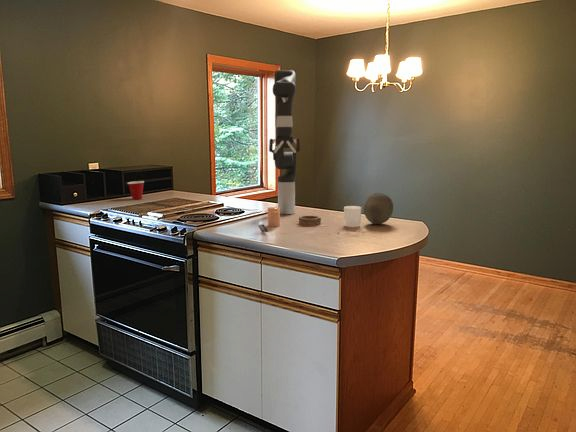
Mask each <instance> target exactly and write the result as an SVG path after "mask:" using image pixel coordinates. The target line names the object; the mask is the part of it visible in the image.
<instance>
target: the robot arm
mask: <svg viewBox="0 0 576 432" xmlns="http://www.w3.org/2000/svg"><path fill="white" fill-rule="evenodd" d="M273 75H274V77H273V79H274V83H273V86H272V94H273V96H274V97H275V115H274V116H275V118H274V119H275V124H274V125H275V139H274V138H270V139H269V144H268V145H269V148H268V151H269V152H270V153H272V160H273V161H274V167H275V168H276V169H278V170H286V171H285V172H284V173H283V174H281V175H279V176H278V177H277V207H279V208H280V215H292V214H295V213H296V208H295V207H296V199H295V198H296V177H297V175H296V174H297V153H298V152H300V151H301V146H300V138H293V127H294V126H293V125H294V120H293V119H294V114H293V103H294V98H295V95H296V93H297V92H296V91H297V87H296V81H297V79H296V78H297V76H296V72H295V71H294V70H293V69H276V70H275V72H274V74H273ZM285 98H287V99H286V100H285ZM293 143H294V144H295V148H294V147H293V145H292V144H293ZM273 144H275V145H274V146H275V147H274V149H273ZM285 149H289V150H291V151H285Z"/></svg>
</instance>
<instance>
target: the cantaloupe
mask: <svg viewBox="0 0 576 432" xmlns="http://www.w3.org/2000/svg"><path fill="white" fill-rule="evenodd" d="M393 212H394V202H393V199H392V198H391V197H390V196H389V195H388V194H385V193H381V192H380V193H379V192H376V193H373V194H372V193H371V194H370V195H369V196H368V197H367V198H366V200H365V203H364V206H363V213H364V216H365V218H366V219H367V221H368V222H369V223H371V224H372V225H377V226H378V225H381V224H384V223H386V222H388V220H389V219H391V217H392V215H393Z"/></svg>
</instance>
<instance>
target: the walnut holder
mask: <svg viewBox="0 0 576 432" xmlns="http://www.w3.org/2000/svg"><path fill="white" fill-rule="evenodd" d="M292 223H293V224H294V225H295V226H296V227H297V228H311V227H312V228H313V227H314V228H315V227H318V228H319V227H328V226H329V225H327V224H326V223H325V222H324V221H323V220H322V218H321V217H320V216H319V215H302V216H298V220H297V221H292Z"/></svg>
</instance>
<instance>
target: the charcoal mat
mask: <svg viewBox="0 0 576 432" xmlns="http://www.w3.org/2000/svg"><path fill="white" fill-rule="evenodd" d="M258 227H259V229H260V231H261V232H262V233H266V232H268V233H269V230H268V229H267V228H266V225H265V224H258Z"/></svg>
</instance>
